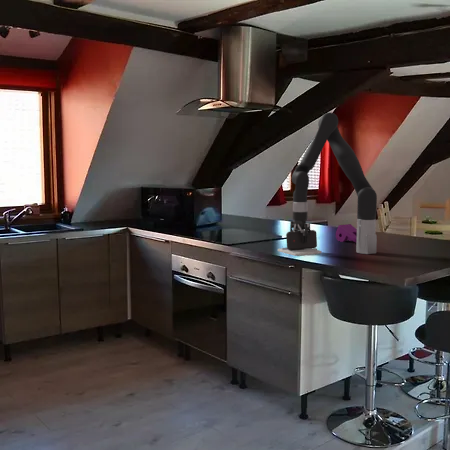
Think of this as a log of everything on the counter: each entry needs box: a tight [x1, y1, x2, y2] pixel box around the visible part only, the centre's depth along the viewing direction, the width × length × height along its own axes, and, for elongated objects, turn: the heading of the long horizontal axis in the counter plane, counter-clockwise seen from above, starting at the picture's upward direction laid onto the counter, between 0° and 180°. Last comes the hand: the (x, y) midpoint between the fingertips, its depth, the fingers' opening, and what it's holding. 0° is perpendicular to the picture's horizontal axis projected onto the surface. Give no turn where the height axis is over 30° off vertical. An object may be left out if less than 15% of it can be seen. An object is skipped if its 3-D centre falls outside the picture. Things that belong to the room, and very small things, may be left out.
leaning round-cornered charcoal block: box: [285, 229, 318, 250], centre depth 279 cm, size 16×5×9 cm, turn 103°
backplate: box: [277, 247, 322, 257], centre depth 279 cm, size 16×16×1 cm
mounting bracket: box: [335, 223, 357, 243], centre depth 313 cm, size 10×8×18 cm
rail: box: [281, 247, 318, 252], centre depth 279 cm, size 10×15×1 cm, turn 117°
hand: (300, 242), depth 278 cm, fingers open, 8 cm apart
